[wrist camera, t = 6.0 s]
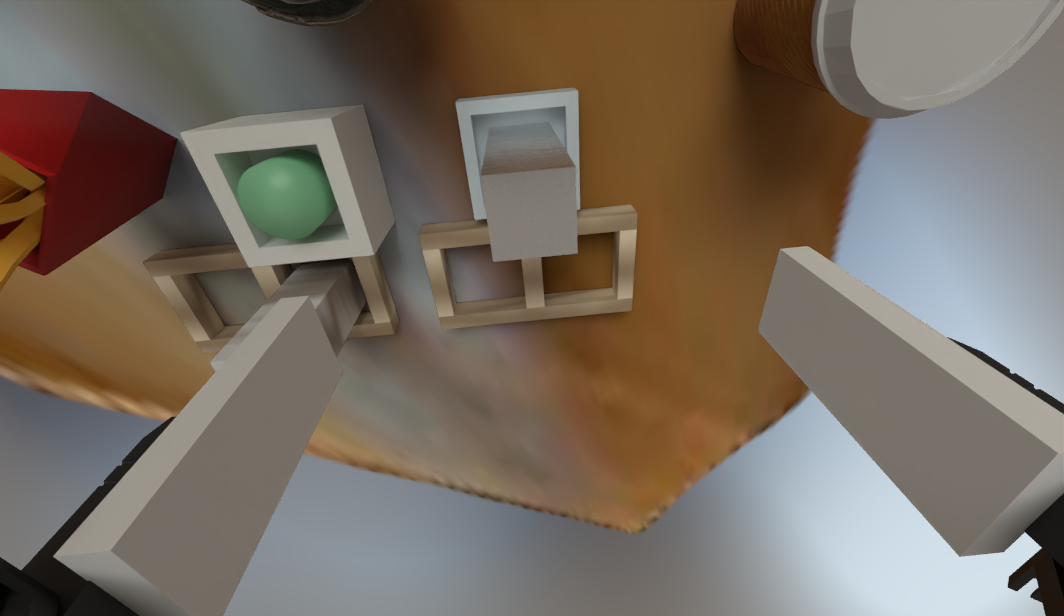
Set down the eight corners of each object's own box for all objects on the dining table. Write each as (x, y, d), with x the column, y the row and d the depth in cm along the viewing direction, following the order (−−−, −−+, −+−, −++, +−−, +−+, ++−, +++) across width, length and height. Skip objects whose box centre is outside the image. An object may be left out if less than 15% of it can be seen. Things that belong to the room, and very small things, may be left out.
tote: (458, 98, 27) (455, 102, 25) (573, 87, 27) (578, 90, 25) (476, 210, 31) (474, 219, 29) (576, 200, 31) (580, 209, 29)
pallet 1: (161, 250, 31) (-2, 348, 21) (371, 229, 31) (308, 317, 21) (217, 339, 36) (104, 453, 26) (399, 320, 36) (358, 428, 26)
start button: (256, 152, 25) (222, 167, 22) (328, 145, 25) (304, 159, 22) (285, 221, 27) (258, 243, 24) (351, 214, 27) (332, 235, 24)
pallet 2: (423, 224, 31) (418, 234, 30) (630, 204, 31) (637, 213, 30) (444, 316, 36) (441, 329, 34) (625, 298, 36) (631, 310, 34)
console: (240, 116, 27) (179, 132, 22) (363, 104, 27) (330, 118, 22) (290, 231, 31) (248, 267, 26) (395, 220, 31) (374, 255, 26)
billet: (489, 127, 27) (480, 176, 17) (548, 121, 27) (575, 166, 17) (497, 191, 29) (493, 266, 19) (552, 185, 29) (577, 258, 19)
